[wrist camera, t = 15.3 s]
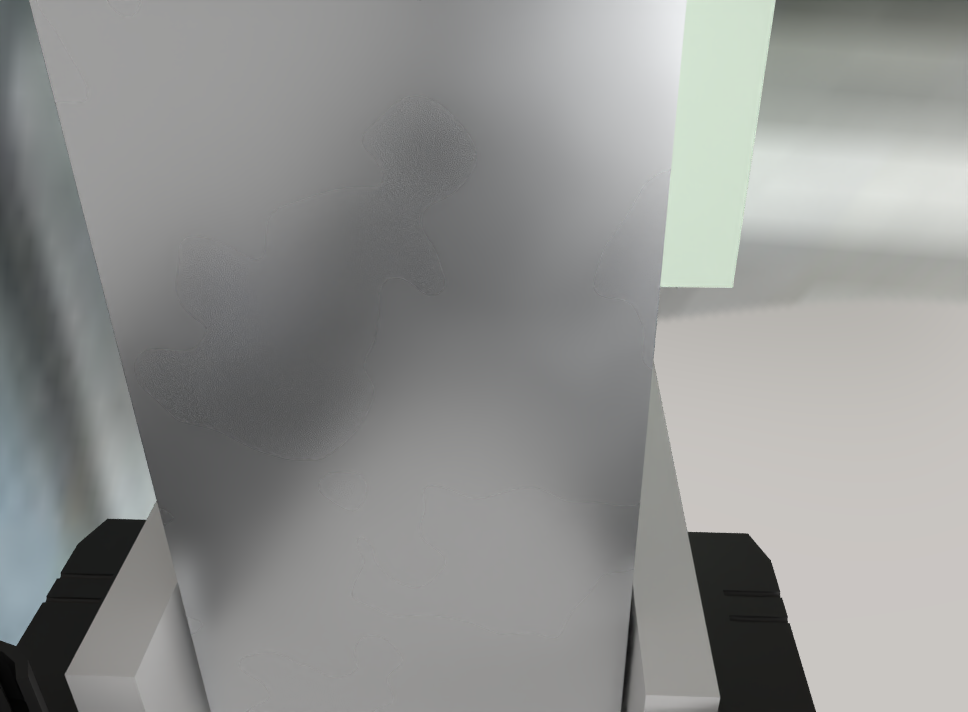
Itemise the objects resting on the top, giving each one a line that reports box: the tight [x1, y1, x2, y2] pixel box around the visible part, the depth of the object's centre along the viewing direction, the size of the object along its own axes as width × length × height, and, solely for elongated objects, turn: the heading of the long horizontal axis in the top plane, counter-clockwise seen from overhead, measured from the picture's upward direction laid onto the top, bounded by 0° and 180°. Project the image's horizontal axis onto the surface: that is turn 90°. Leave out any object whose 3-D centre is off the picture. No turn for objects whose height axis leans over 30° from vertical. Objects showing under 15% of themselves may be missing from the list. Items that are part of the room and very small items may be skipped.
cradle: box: [660, 0, 775, 288], centre depth 14 cm, size 7×9×3 cm
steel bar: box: [29, 0, 687, 712], centre depth 12 cm, size 17×5×7 cm, turn 1°
